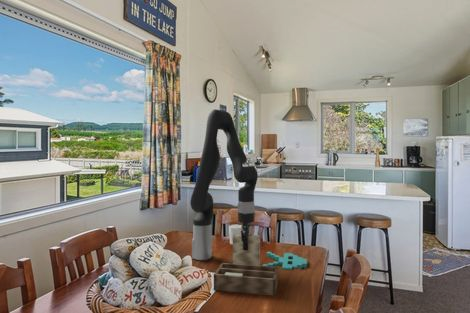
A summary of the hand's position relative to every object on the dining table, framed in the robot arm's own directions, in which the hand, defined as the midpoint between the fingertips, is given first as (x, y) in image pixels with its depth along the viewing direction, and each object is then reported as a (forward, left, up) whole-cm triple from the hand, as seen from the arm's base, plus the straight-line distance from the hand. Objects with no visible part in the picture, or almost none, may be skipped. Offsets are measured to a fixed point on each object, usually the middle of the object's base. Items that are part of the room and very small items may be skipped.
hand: (246, 248), depth 149 cm
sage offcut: (-2, -19, -10) cm, 21 cm away
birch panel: (0, 0, -9) cm, 9 cm away
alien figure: (+17, +14, -11) cm, 25 cm away
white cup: (-13, +40, -11) cm, 43 cm away
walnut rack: (+3, -16, -11) cm, 20 cm away
